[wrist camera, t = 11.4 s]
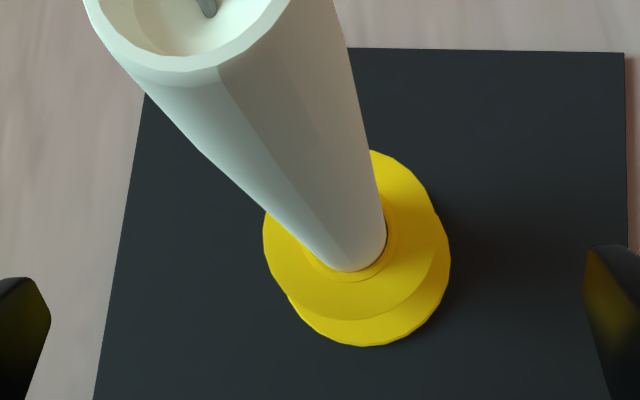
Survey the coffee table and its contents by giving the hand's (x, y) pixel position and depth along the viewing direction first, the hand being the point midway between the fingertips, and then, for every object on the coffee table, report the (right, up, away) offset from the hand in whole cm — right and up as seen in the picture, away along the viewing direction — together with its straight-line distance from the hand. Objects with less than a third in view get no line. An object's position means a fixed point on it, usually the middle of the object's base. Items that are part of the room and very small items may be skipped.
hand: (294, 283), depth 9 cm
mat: (+2, 0, +9) cm, 9 cm away
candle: (+2, -1, +9) cm, 9 cm away
